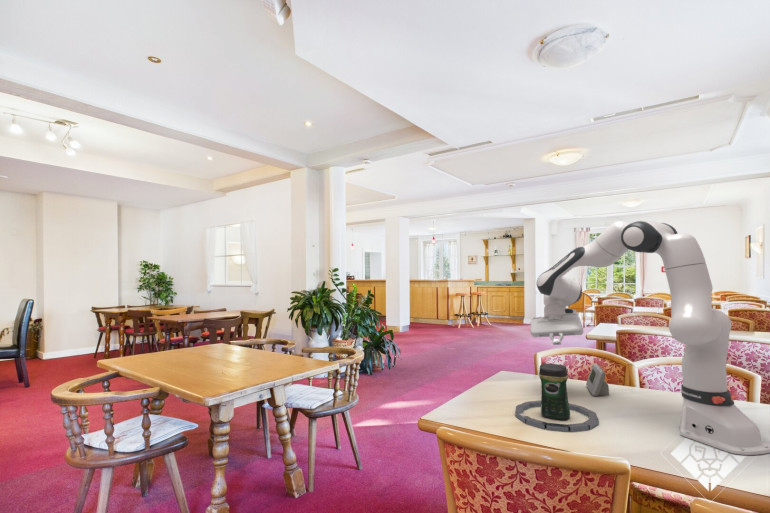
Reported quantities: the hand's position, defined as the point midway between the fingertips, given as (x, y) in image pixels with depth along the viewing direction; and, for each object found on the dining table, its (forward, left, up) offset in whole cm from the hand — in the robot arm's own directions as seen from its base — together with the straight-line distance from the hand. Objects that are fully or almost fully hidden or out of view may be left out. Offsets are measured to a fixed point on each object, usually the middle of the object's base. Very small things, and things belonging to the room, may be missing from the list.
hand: (557, 344), depth 161 cm
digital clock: (+7, -22, -23) cm, 32 cm away
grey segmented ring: (-16, +12, -23) cm, 30 cm away
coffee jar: (-15, +12, -23) cm, 30 cm away
